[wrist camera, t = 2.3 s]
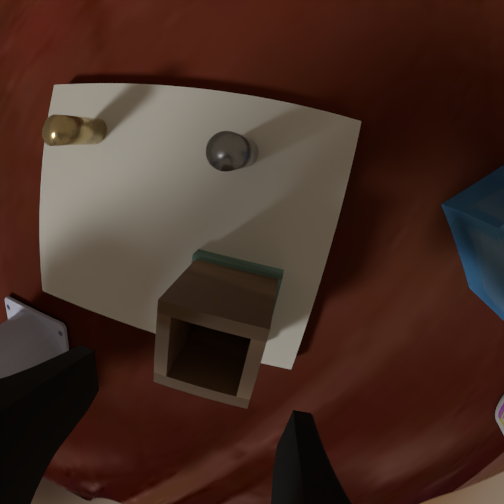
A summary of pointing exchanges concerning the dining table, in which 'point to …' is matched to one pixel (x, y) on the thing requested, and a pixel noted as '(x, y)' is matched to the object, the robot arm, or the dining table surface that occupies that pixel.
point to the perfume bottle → (481, 236)
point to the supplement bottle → (500, 414)
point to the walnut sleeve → (215, 327)
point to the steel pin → (231, 151)
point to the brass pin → (73, 130)
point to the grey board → (190, 199)
